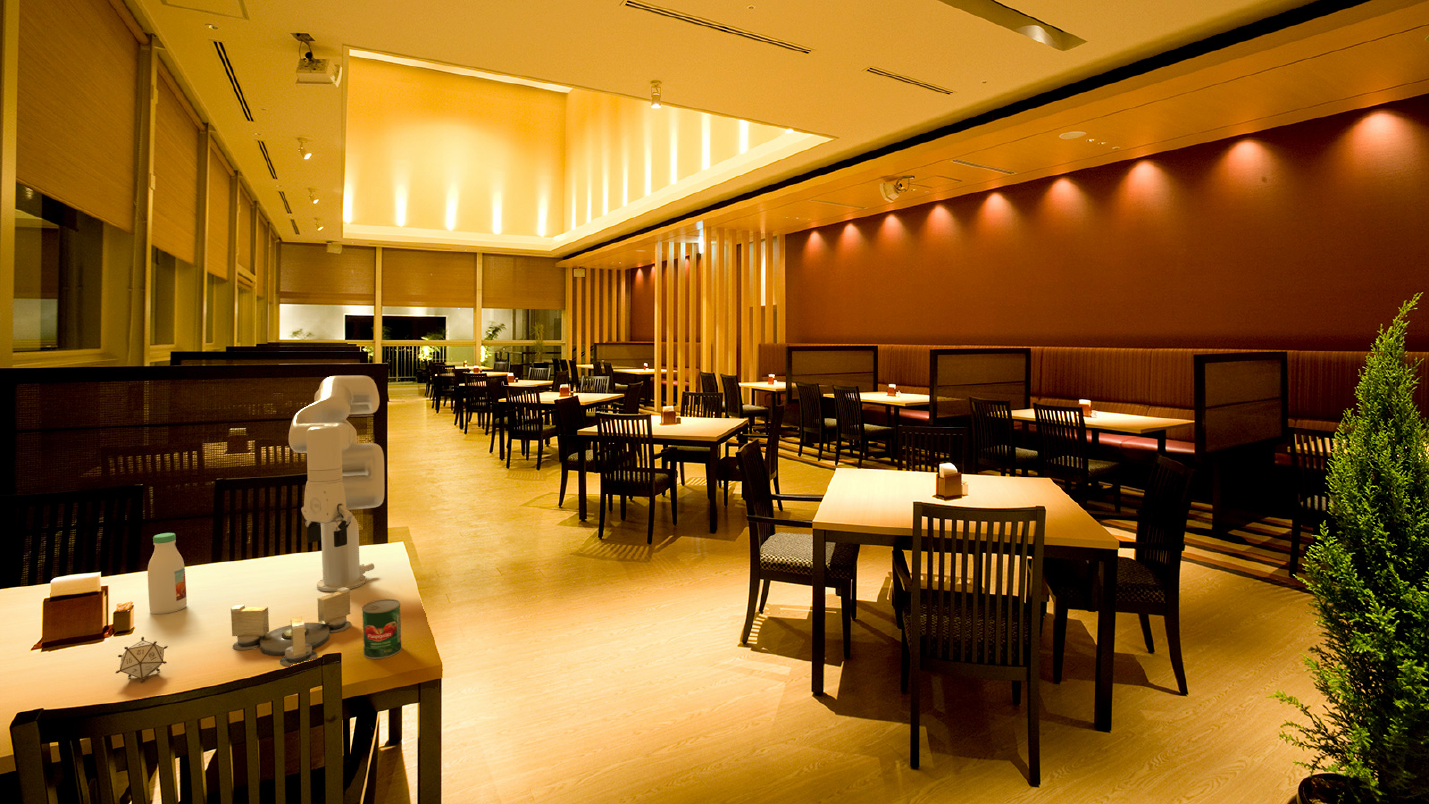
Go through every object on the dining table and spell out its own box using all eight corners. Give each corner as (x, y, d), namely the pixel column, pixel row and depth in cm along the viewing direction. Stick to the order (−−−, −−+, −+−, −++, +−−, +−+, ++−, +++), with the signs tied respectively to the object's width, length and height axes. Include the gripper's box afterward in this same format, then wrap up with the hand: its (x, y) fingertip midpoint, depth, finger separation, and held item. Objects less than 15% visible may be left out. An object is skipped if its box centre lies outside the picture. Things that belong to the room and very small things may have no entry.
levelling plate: (316, 613, 181) (315, 600, 181) (381, 631, 171) (381, 617, 170) (225, 646, 161) (224, 632, 161) (293, 669, 151) (292, 653, 150)
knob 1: (228, 646, 160) (226, 611, 159) (242, 637, 165) (240, 602, 164) (260, 645, 160) (258, 610, 160) (272, 636, 166) (271, 602, 165)
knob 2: (313, 659, 154) (312, 622, 153) (286, 665, 151) (284, 628, 150) (310, 648, 160) (309, 612, 159) (284, 653, 157) (282, 617, 156)
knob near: (340, 618, 177) (339, 586, 176) (354, 622, 175) (353, 589, 174) (314, 628, 171) (313, 595, 170) (328, 632, 168) (327, 598, 168)
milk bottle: (166, 616, 178) (162, 539, 177) (141, 613, 180) (137, 537, 178) (194, 605, 186) (190, 531, 184) (170, 602, 187) (166, 530, 186)
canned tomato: (394, 641, 165) (392, 596, 164) (407, 652, 160) (405, 605, 159) (358, 651, 160) (356, 604, 159) (370, 662, 154) (369, 614, 153)
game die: (140, 691, 148) (141, 645, 152) (178, 676, 148) (178, 631, 152) (103, 689, 140) (104, 641, 144) (143, 674, 140) (144, 626, 144)
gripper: (287, 475, 173) (290, 543, 174) (335, 480, 166) (337, 551, 167) (316, 471, 180) (318, 536, 181) (362, 475, 172) (364, 543, 173)
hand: (327, 543), depth 174 cm, fingers open, 9 cm apart
